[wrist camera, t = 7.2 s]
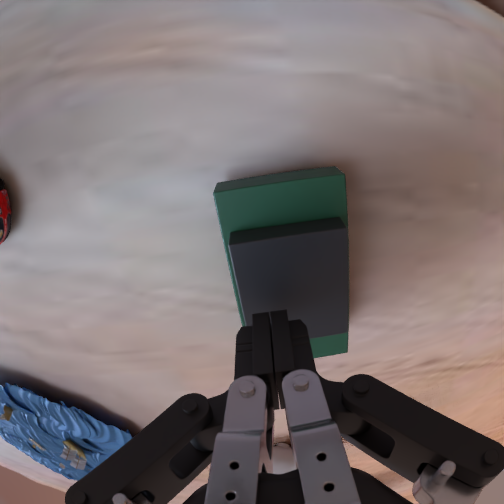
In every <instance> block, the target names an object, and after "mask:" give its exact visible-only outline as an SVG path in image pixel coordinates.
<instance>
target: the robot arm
mask: <svg viewBox="0 0 504 504" xmlns="http://www.w3.org/2000/svg"><path fill="white" fill-rule="evenodd" d="M270 316H271V322H270ZM278 393H279V398H278ZM279 399H280V406H281V409H284V408H285V411H286V418H287V425H288V430H289V436H290V441H291V446H292V451H293V457H294V462H295V468H296V470H293V471H290V472H287V473H284V474H274V473H273V446H274V410H276V409H279ZM341 436H342V437H343V438H344V439H345V440H347V441H348V442H350V443H351V444H353V445H354V446H356V447H357V448H359V449H360V450H362V451H363V452H365V453H366V454H368V455H369V456H371V457H372V458H374V459H375V460H377V461H378V462H380V463H382V464H383V465H385V466H386V467H388V468H390V469H391V470H393V471H394V472H396V473H398V474H399V475H401V476H403V477H404V478H406V479H408V480H409V481H411V482H413V483H414V485H413V489H412V492H413V496H414V498H415V499H416V501H418V502H419V503H420V504H474V503H475V501H476V499H477V498H478V496H479V494H480V493H481V491H482V489H483V488H484V487H485V486H487V485H488V484H489V483H490V482H491V481H492V480H493V479H494V478H495V477H496V476H497V475H498V474H499V473H500V472H501V471H502V470H503V469H504V447H503V446H502V445H501V444H500V443H498V442H496V441H494V440H492V439H490V438H488V437H486V436H484V435H482V434H480V433H478V432H476V431H474V430H472V429H470V428H468V427H466V426H464V425H462V424H460V423H458V422H456V421H454V420H452V419H450V418H448V417H446V416H444V415H442V414H440V413H439V412H437V411H435V410H433V409H431V408H429V407H427V406H425V405H423V404H421V403H420V402H418V401H416V400H414V399H412V398H410V397H408V396H407V395H405V394H403V393H401V392H399V391H397V390H396V389H394V388H392V387H390V386H388V385H386V384H385V383H383V382H381V381H379V380H377V379H376V378H374V377H372V376H370V375H365V374H358V375H354V376H351V377H350V378H348V379H347V380H346V381H345V382H344V383H343V382H333V381H329V380H326V379H324V378H322V377H321V376H320V375H319V374H318V373H317V371H316V368H315V363H314V358H313V353H312V349H311V344H310V339H309V335H308V330H307V326H306V325H305V324H304V323H303V322H302V321H301V319H298V320H290V321H288V315H287V309H285V310H278V311H270V315H269V312H263V313H255V314H252V326H244V327H241V329H240V330H239V332H238V334H237V335H236V355H235V376H234V381H233V382H232V384H231V385H230V387H229V389H228V390H227V391H226V392H225V393H223V394H221V395H218V396H215V397H212V398H209V399H207V398H206V397H205V396H203V395H201V394H196V393H192V394H187V395H184V396H182V397H180V398H179V399H178V400H177V401H176V402H174V403H173V404H172V405H171V406H170V407H169V408H167V409H166V410H165V411H164V412H163V413H162V414H161V415H159V416H158V417H157V418H156V419H155V420H153V421H152V422H151V423H150V424H149V425H148V426H146V427H145V428H144V429H143V430H142V431H140V432H139V433H138V434H137V435H136V436H134V437H133V438H132V439H131V440H129V441H128V442H127V443H126V444H125V445H123V446H122V447H121V448H120V449H118V450H117V451H116V452H115V453H113V454H112V455H111V456H110V457H108V458H107V459H106V460H105V461H103V462H102V463H101V464H100V465H98V466H97V467H96V468H94V469H93V470H92V471H91V472H89V473H88V474H87V475H85V476H84V477H83V478H81V479H80V480H79V481H77V482H76V483H75V484H74V485H72V486H71V487H70V488H69V489H68V491H67V492H66V496H65V503H66V504H167V503H168V502H169V501H170V500H172V499H173V498H174V497H175V496H176V495H177V494H178V493H179V492H180V491H182V490H183V489H184V488H185V487H186V486H187V485H188V484H189V483H190V482H191V481H192V480H193V479H194V478H195V477H197V476H198V475H199V474H200V473H201V472H202V471H203V470H204V469H205V468H206V467H207V466H208V465H209V464H210V463H211V467H210V473H209V478H208V483H207V484H205V485H203V486H202V487H200V488H199V489H198V490H196V491H195V492H194V493H193V494H192V495H191V496H190V497H189V498H188V499H187V500H186V501H185V502H184V503H183V504H413V503H411V502H410V501H408V500H407V499H405V498H404V497H402V496H401V495H399V494H398V493H396V492H395V491H393V490H392V489H390V488H389V487H387V486H386V485H384V484H383V483H382V482H380V481H379V480H377V479H376V478H374V477H373V476H372V475H370V474H368V473H366V472H364V471H362V470H359V469H356V468H352V467H350V465H349V461H348V458H347V455H346V451H345V448H344V445H343V442H342V438H341Z"/></svg>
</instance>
